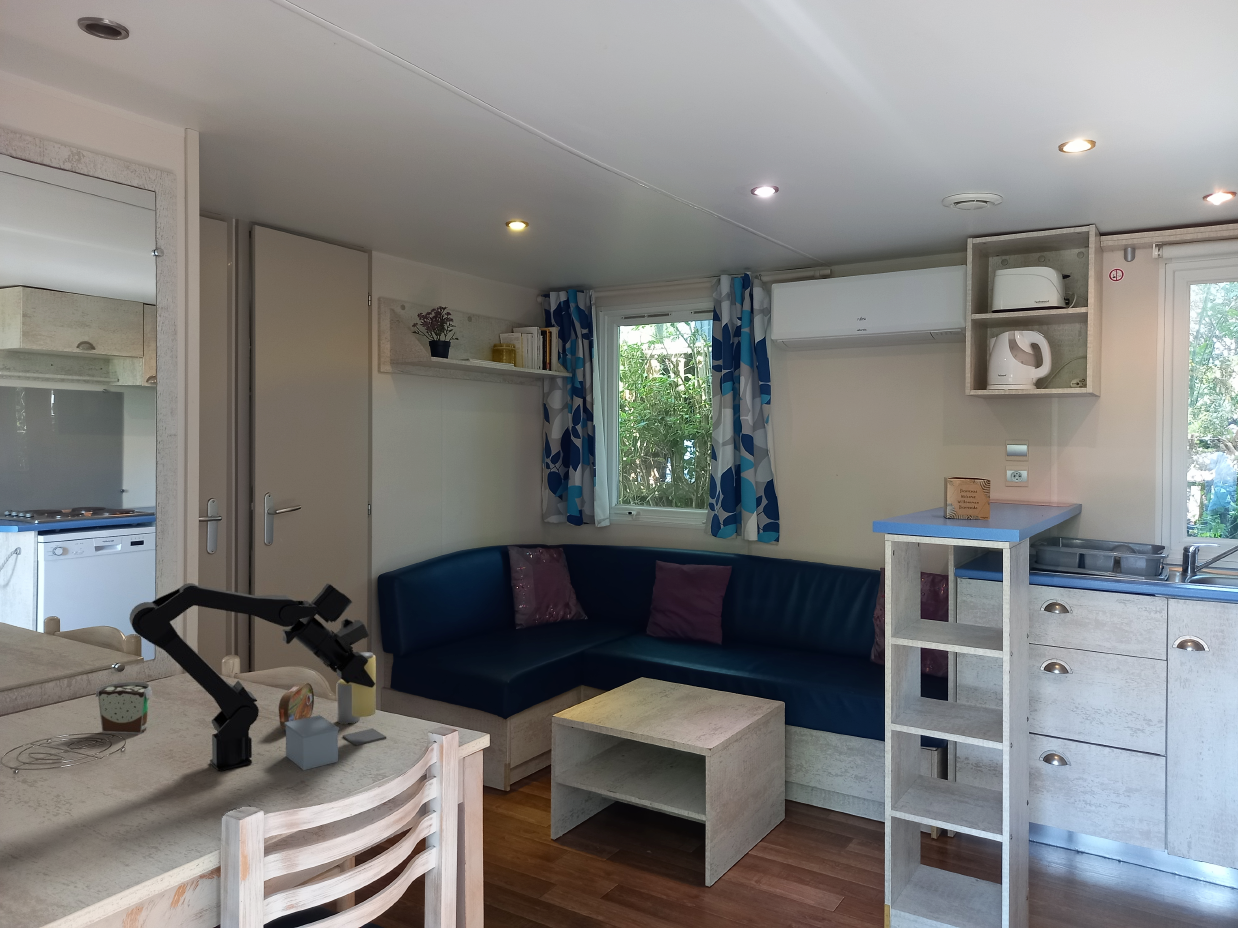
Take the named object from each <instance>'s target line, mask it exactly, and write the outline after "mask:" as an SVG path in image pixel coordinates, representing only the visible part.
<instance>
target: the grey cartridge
mask: <svg viewBox="0 0 1238 928" xmlns="http://www.w3.org/2000/svg"><path fill="white" fill-rule="evenodd" d="M336 685H337V686H336V687H337V688H336V689H337V691H336V693H337V695H336V696H337V698H336V699H337V723H338V724H339V723H340V725H349V724H348V723H353V724H355V723H354V722H357V721H359V720H360V721H361V717H355V716H353V715H352V683H351V682H350V683H348V684H347V683H346V682H345V681H344V680H342V679H341V678H340V679H339V681H338V682H337V684H336ZM360 721H359V722H360ZM357 723H358V722H357Z"/></svg>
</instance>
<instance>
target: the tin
mask: <svg viewBox="0 0 1238 928" xmlns="http://www.w3.org/2000/svg"><path fill="white" fill-rule="evenodd" d="M314 695H315V694H314V688H313V686H312V685H311V683H309V682H305V683H297V684H295V685H294V686H293V687H292V688H290V689H289V690H288V691H287V692H285V693H283V695H281V698H280V700H279V703H278V718H279V725H280V728H281V729H282V730H284V731H286V726H285V725H284V723H285V722H289V721H294V720H299V719H304V718H308V717H312V714H313V710H314V705H315V696H314Z"/></svg>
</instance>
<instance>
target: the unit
mask: <svg viewBox="0 0 1238 928" xmlns="http://www.w3.org/2000/svg"><path fill="white" fill-rule="evenodd" d="M284 725H285V726H286V730H285V756H286V757H287V759H289V760H291V761H292V762H293V763H294V764H295V765H297V767H299V768H301V769H302V771H307V770H310V769H314V768H317V767H322V766H326V765H330V764H333V763H338V762H339V745H338V744H339V741H338V740H339V739H338V738H339V735H338V734H339V733H338V731H340V727H339V726H337V725H336V724H334V723H332V721H330V720H328V719H326V718H324V716H322V715H320V714H319V715H313V716H310V717H308V718H304V719H299V720H294V721H289V722H285V723H284Z"/></svg>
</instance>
